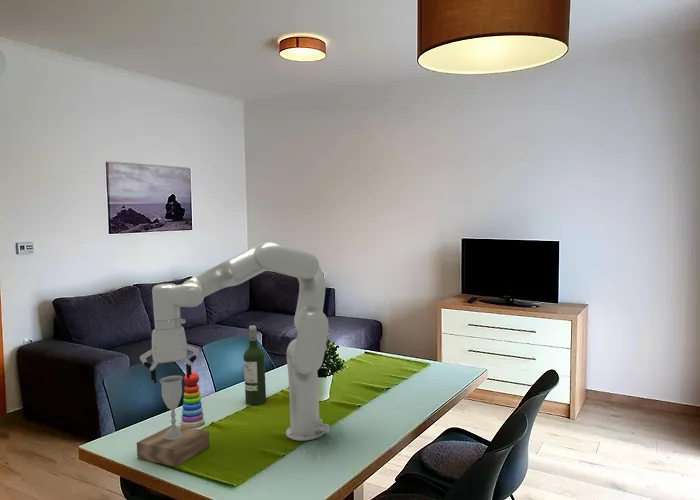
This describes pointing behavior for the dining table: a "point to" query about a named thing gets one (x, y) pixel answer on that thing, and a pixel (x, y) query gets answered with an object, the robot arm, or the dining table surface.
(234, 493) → the dining table surface
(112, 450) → the dining table surface
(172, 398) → the chalice
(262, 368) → the wine bottle
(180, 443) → the plinth
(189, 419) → the stacking toy
